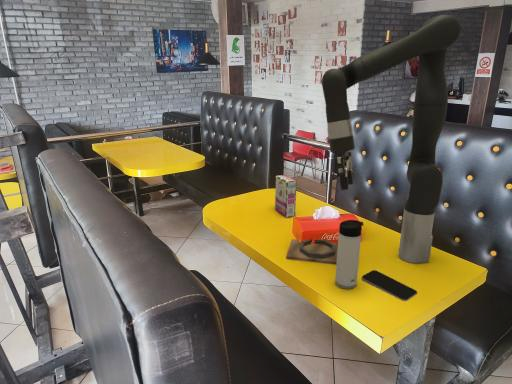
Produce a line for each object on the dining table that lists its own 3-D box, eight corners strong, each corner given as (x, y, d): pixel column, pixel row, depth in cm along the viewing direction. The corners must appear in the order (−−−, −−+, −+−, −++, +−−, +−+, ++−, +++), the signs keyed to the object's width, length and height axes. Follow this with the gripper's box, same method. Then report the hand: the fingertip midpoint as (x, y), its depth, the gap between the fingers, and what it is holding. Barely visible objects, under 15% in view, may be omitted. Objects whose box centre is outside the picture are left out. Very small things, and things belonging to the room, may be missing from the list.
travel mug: (358, 290, 107) (364, 227, 101) (335, 288, 109) (339, 225, 102) (357, 279, 113) (362, 218, 107) (335, 277, 114) (339, 217, 108)
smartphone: (405, 301, 102) (360, 276, 113) (404, 304, 102) (359, 280, 113) (418, 291, 106) (374, 269, 117) (418, 294, 107) (373, 272, 118)
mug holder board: (346, 246, 134) (347, 240, 133) (346, 265, 121) (347, 258, 120) (291, 241, 138) (291, 235, 138) (285, 258, 125) (286, 252, 125)
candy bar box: (295, 216, 162) (297, 180, 157) (285, 218, 160) (286, 182, 155) (284, 208, 172) (285, 174, 167) (274, 209, 170) (275, 175, 165)
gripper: (348, 135, 107) (355, 190, 109) (356, 132, 119) (362, 181, 122) (323, 139, 110) (330, 192, 112) (333, 136, 123) (340, 183, 125)
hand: (347, 186), depth 117 cm, fingers open, 8 cm apart
